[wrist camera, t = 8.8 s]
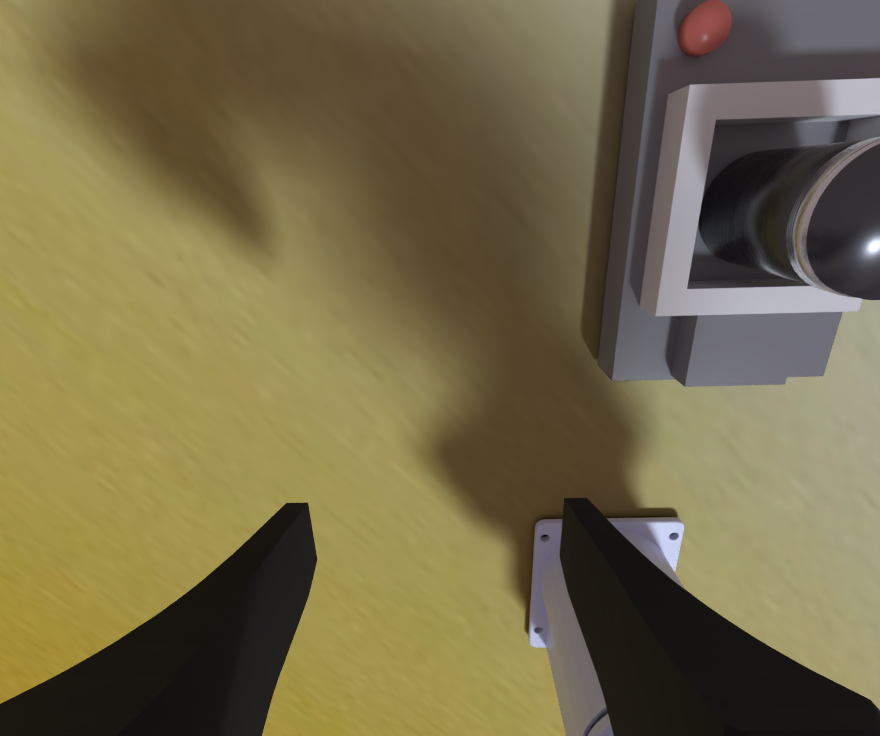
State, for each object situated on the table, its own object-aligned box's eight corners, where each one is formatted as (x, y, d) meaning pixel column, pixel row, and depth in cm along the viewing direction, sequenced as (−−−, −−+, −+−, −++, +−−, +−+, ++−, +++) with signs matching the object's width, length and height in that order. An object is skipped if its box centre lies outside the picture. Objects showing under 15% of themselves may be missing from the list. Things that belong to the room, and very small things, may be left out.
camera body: (789, 359, 21) (852, 390, 18) (597, 364, 21) (624, 395, 18) (889, -8, 16) (1002, -58, 13) (635, 2, 16) (683, -45, 13)
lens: (782, 272, 18) (934, 312, 12) (681, 256, 18) (789, 289, 12) (831, 158, 16) (1031, 145, 11) (721, 140, 16) (866, 117, 11)
